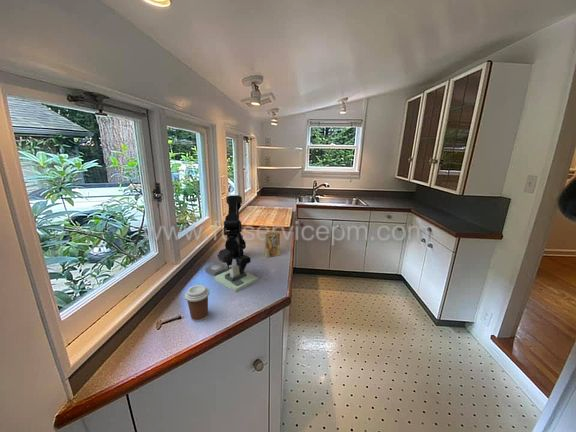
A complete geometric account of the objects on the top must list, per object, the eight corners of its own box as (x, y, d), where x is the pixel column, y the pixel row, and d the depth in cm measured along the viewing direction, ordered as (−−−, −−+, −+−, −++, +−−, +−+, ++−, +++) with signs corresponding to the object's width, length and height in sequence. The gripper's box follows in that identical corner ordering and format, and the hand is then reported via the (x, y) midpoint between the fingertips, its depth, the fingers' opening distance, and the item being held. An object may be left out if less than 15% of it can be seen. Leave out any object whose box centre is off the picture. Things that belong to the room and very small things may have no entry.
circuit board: (214, 279, 124) (213, 273, 123) (236, 269, 135) (235, 263, 134) (235, 291, 113) (235, 285, 112) (257, 280, 123) (257, 274, 122)
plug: (228, 282, 118) (227, 269, 117) (225, 280, 120) (224, 267, 118) (242, 275, 125) (241, 263, 123) (238, 273, 127) (238, 261, 125)
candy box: (278, 253, 156) (277, 230, 153) (280, 255, 153) (279, 232, 149) (264, 255, 154) (264, 232, 150) (266, 257, 150) (265, 234, 146)
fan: (205, 271, 132) (205, 267, 131) (219, 266, 139) (219, 261, 138) (215, 277, 126) (214, 272, 126) (229, 271, 133) (228, 266, 132)
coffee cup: (214, 318, 95) (211, 291, 92) (190, 327, 90) (186, 298, 87) (208, 306, 102) (205, 280, 99) (185, 313, 98) (182, 287, 95)
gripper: (208, 243, 119) (211, 271, 123) (231, 253, 107) (233, 284, 111) (227, 237, 127) (229, 264, 131) (250, 245, 115) (252, 275, 119)
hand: (235, 271), depth 123 cm, fingers open, 9 cm apart
